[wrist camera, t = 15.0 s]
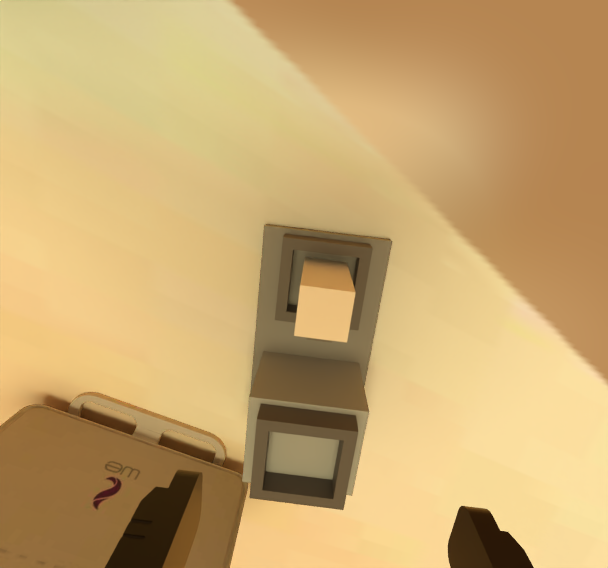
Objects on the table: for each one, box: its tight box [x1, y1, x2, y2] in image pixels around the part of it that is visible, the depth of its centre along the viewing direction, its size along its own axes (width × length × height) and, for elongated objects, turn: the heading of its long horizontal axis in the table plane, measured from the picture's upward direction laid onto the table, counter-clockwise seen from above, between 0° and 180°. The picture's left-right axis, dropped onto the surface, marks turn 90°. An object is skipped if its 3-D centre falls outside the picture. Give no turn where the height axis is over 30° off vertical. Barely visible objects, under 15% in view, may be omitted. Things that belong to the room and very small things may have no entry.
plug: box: [294, 257, 356, 343], centre depth 31 cm, size 5×4×9 cm
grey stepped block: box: [242, 224, 392, 510], centre depth 33 cm, size 22×12×11 cm, turn 173°
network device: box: [0, 392, 248, 568], centre depth 33 cm, size 26×9×20 cm, turn 68°
